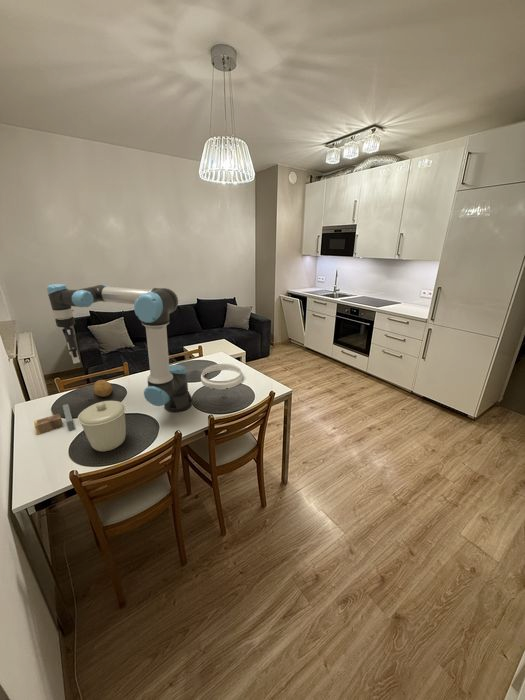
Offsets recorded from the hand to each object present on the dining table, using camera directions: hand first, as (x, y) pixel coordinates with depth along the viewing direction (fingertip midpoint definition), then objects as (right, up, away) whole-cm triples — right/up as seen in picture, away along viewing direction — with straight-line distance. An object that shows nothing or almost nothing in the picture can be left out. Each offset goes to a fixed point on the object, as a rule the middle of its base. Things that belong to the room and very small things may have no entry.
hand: (74, 358), depth 142 cm
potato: (+2, -22, +22) cm, 32 cm away
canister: (+26, -38, -16) cm, 49 cm away
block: (-3, -30, -5) cm, 31 cm away
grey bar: (-2, -31, -1) cm, 31 cm away
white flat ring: (+68, -15, +43) cm, 82 cm away
